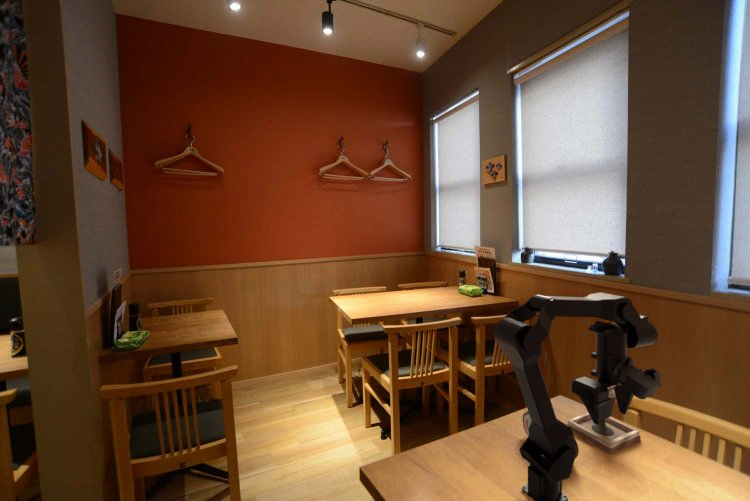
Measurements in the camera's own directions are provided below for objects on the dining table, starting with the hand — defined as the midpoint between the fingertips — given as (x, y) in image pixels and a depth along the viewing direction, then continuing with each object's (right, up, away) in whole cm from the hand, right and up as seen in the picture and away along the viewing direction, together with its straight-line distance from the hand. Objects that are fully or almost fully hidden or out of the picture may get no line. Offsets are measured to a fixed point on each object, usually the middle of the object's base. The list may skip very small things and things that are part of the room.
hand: (610, 418), depth 78 cm
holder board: (+8, -12, +15) cm, 21 cm away
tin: (-9, -13, +10) cm, 19 cm away
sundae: (+8, -11, +15) cm, 20 cm away
